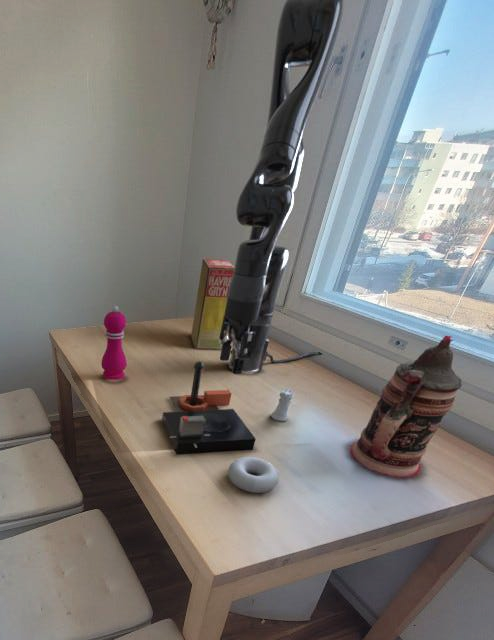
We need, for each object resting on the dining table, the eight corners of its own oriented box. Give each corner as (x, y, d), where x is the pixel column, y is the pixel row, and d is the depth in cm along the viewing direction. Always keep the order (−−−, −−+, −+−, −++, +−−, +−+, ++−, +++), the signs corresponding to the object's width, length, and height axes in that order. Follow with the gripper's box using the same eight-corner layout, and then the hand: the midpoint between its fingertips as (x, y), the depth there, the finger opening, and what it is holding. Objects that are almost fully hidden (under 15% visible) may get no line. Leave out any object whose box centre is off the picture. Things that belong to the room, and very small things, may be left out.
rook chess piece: (287, 418, 106) (297, 389, 101) (287, 426, 102) (297, 397, 97) (269, 415, 107) (278, 386, 102) (268, 423, 104) (277, 393, 98)
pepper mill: (123, 384, 118) (126, 310, 105) (98, 382, 119) (98, 308, 106) (127, 374, 123) (131, 303, 110) (104, 372, 124) (105, 300, 111)
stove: (230, 419, 104) (233, 408, 102) (256, 455, 92) (259, 443, 90) (157, 423, 102) (158, 411, 100) (173, 460, 90) (175, 448, 88)
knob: (199, 433, 93) (203, 414, 90) (202, 437, 92) (205, 418, 88) (178, 434, 92) (181, 415, 89) (180, 439, 91) (183, 419, 88)
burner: (221, 412, 101) (221, 412, 101) (235, 431, 94) (235, 431, 94) (186, 414, 100) (186, 413, 100) (197, 433, 93) (197, 433, 93)
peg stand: (208, 398, 113) (216, 353, 105) (220, 416, 106) (230, 369, 98) (169, 399, 112) (174, 354, 104) (178, 418, 104) (185, 370, 96)
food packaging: (222, 349, 141) (237, 267, 125) (194, 349, 141) (206, 266, 125) (215, 336, 152) (229, 259, 135) (190, 335, 152) (200, 258, 135)
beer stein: (389, 449, 100) (320, 445, 98) (453, 328, 85) (373, 318, 83) (439, 485, 87) (360, 481, 84) (526, 348, 71) (433, 338, 69)
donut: (265, 466, 89) (220, 467, 88) (270, 453, 87) (224, 453, 86) (283, 496, 82) (234, 496, 81) (288, 482, 80) (238, 483, 79)
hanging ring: (183, 411, 105) (185, 399, 103) (176, 398, 110) (177, 387, 108) (232, 409, 107) (235, 397, 105) (223, 396, 112) (225, 385, 110)
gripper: (274, 304, 87) (255, 378, 98) (248, 288, 98) (233, 355, 108) (241, 304, 86) (225, 379, 97) (218, 288, 97) (206, 356, 107)
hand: (230, 366), depth 103 cm, fingers open, 8 cm apart
